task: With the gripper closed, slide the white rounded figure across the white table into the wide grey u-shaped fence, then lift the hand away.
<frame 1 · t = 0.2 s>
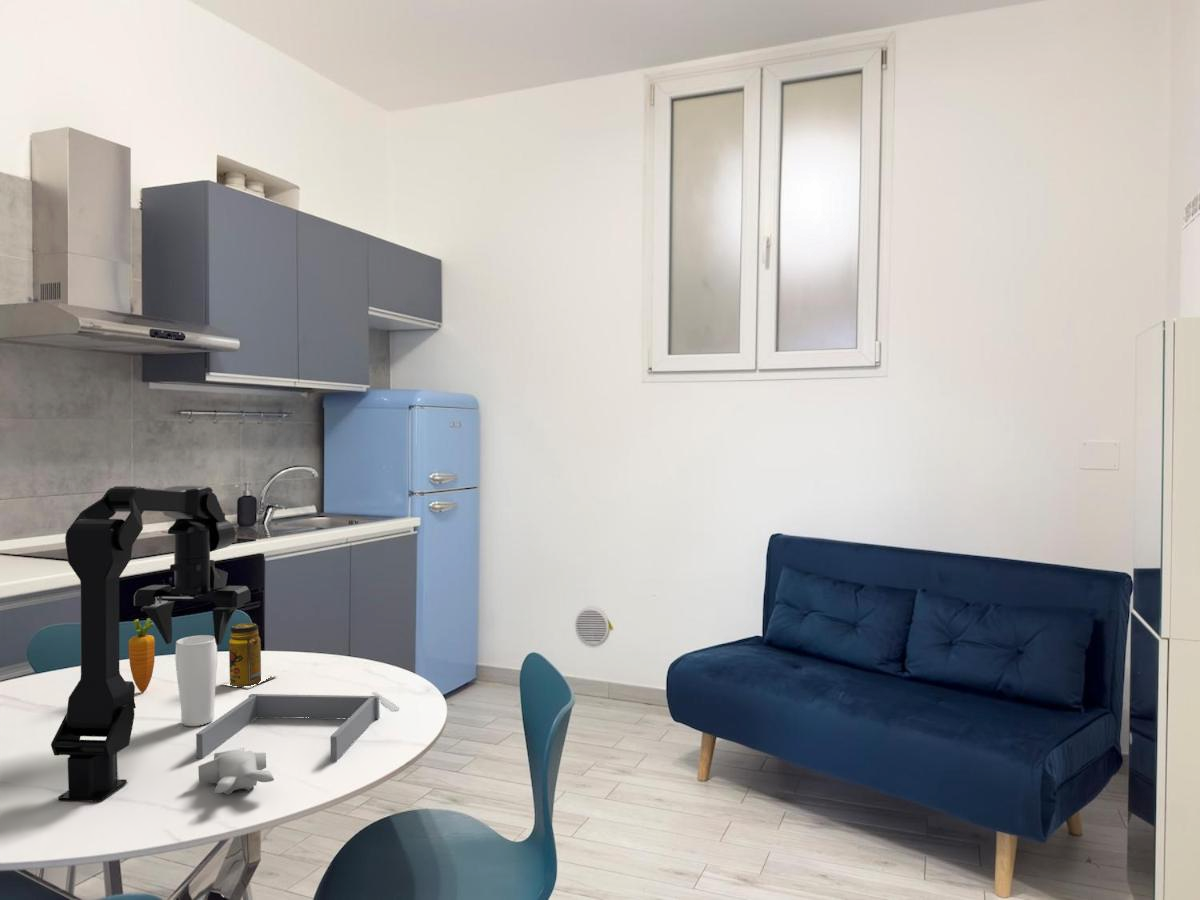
hand: (193, 644, 153), 15 cm above the table, tool pointing down, fingers open, 9 cm apart
grey u-shaped fence: (292, 736, 147), on the table
condiment: (249, 682, 179), on the table
carrot: (142, 693, 172), on the table
drinking glass: (198, 723, 155), on the table
white rounded figure: (236, 789, 127), on the table
butter knife: (371, 694, 171), on the table
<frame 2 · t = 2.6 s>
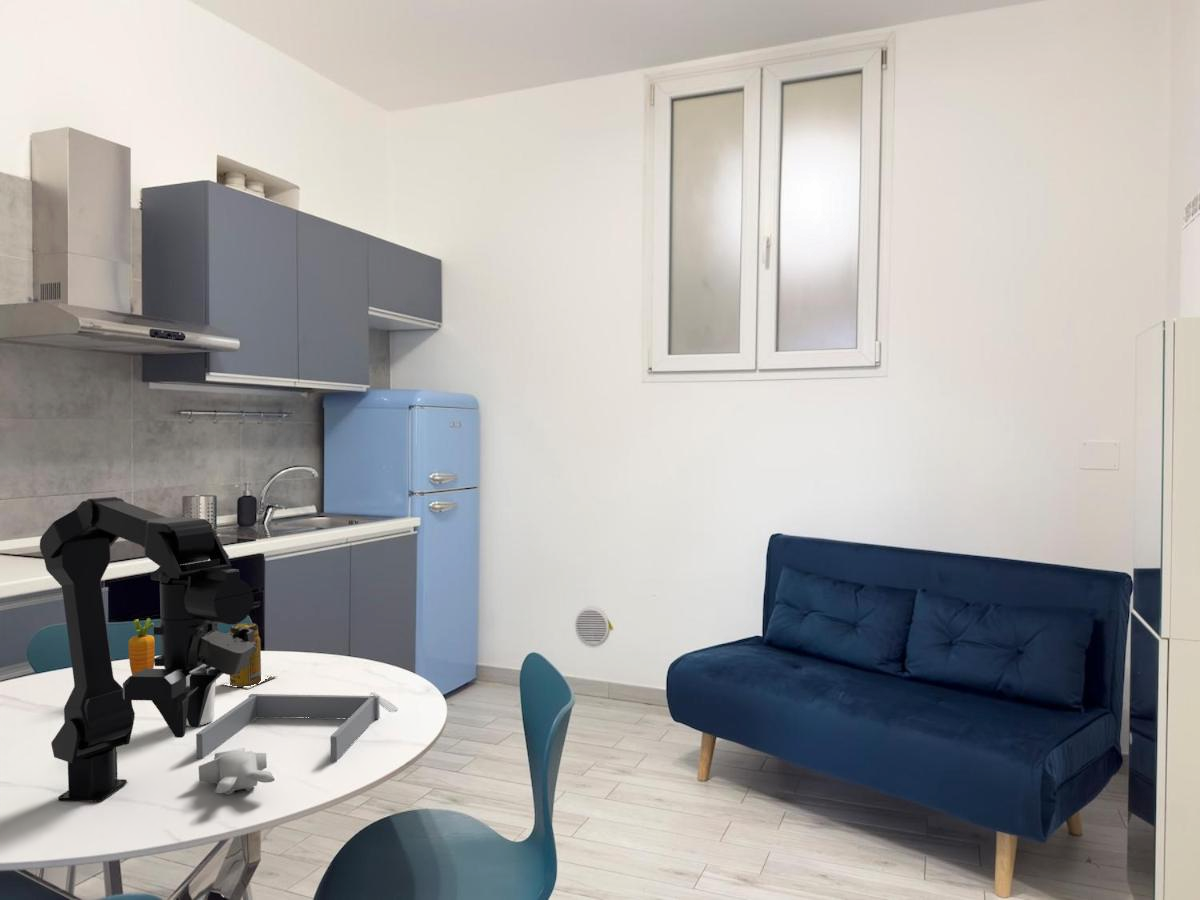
hand: (187, 732, 114), 13 cm above the table, tool pointing down, fingers open, 3 cm apart
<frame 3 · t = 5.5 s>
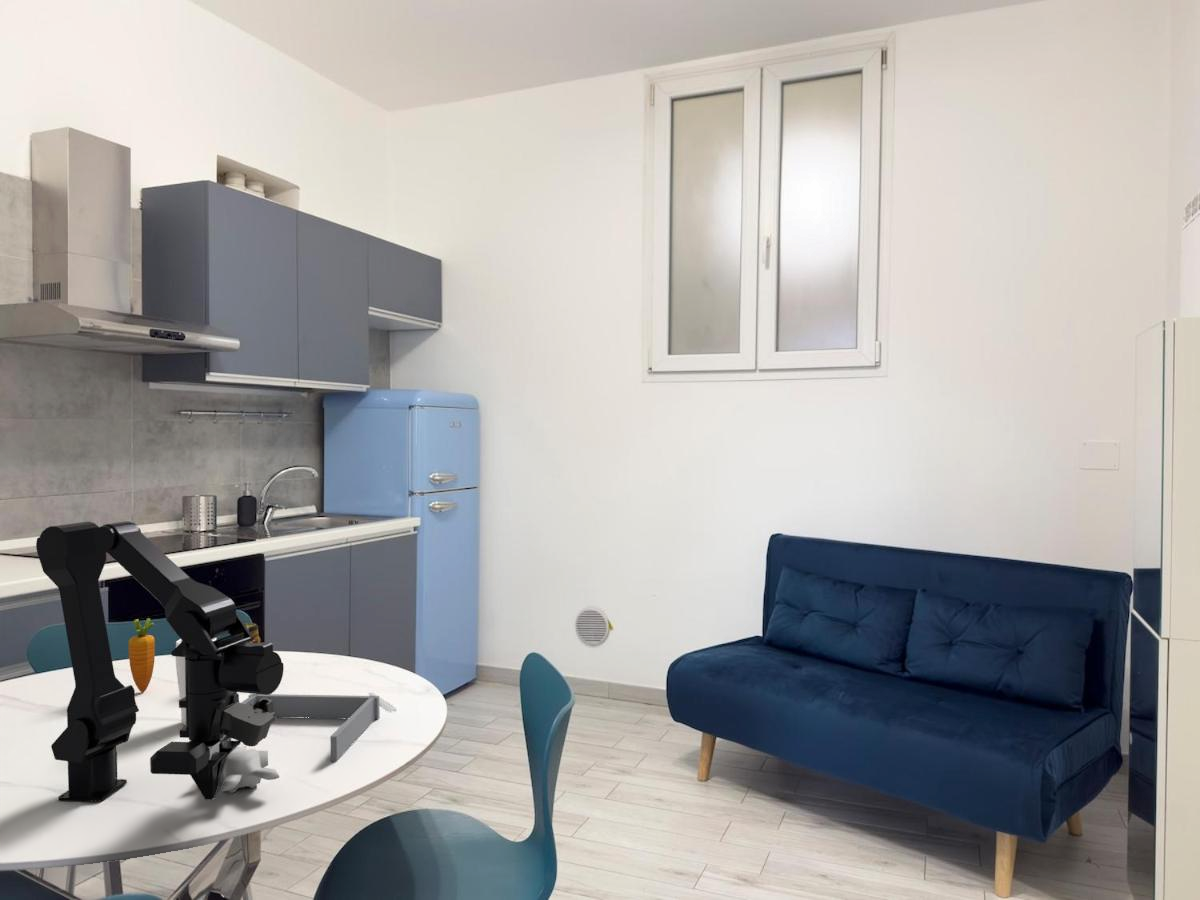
hand: (210, 799, 120), 2 cm above the table, tool pointing down, fingers closed
white rounded figure: (239, 787, 128), on the table, touching gripper
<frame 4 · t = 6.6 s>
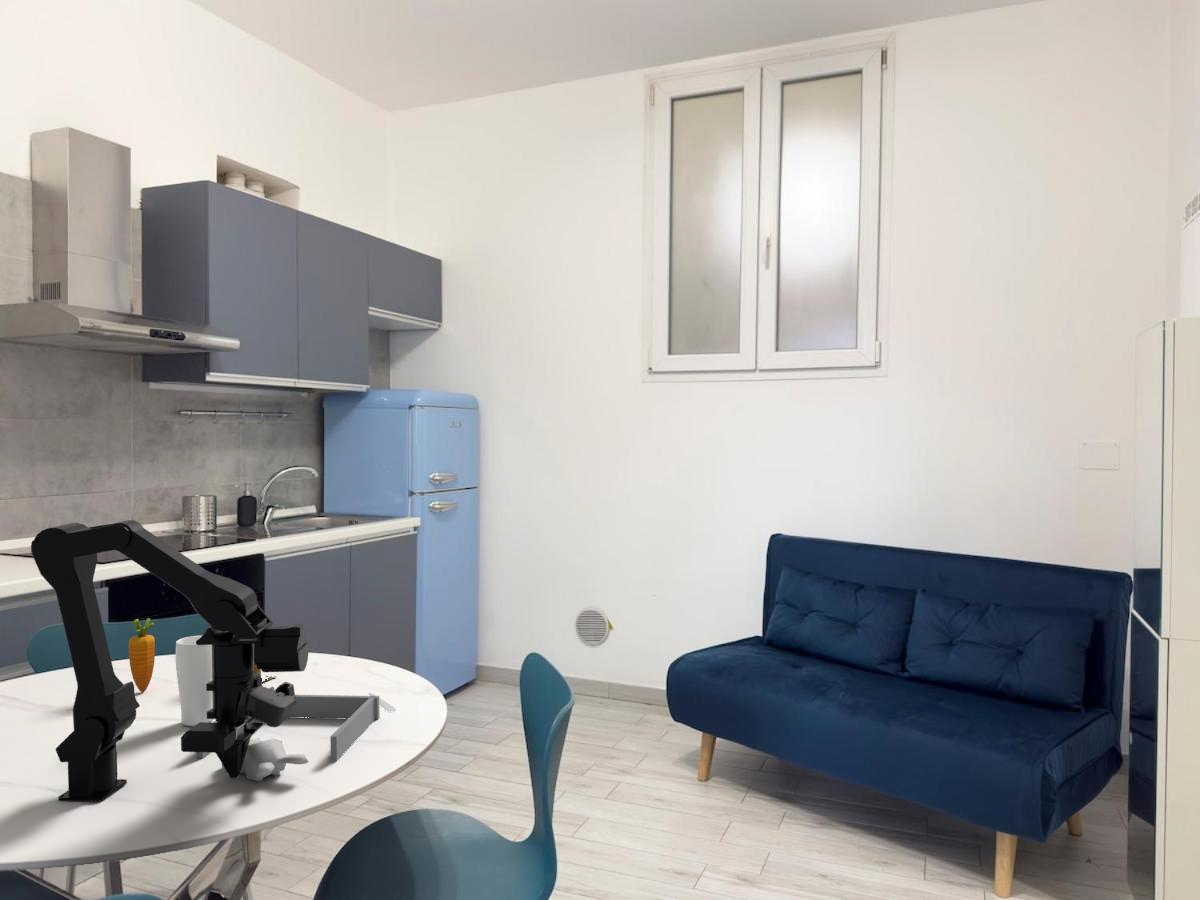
hand: (235, 777, 127), 2 cm above the table, tool pointing down, fingers closed
white rounded figure: (262, 776, 132), on the table, touching gripper
everything else where it was.
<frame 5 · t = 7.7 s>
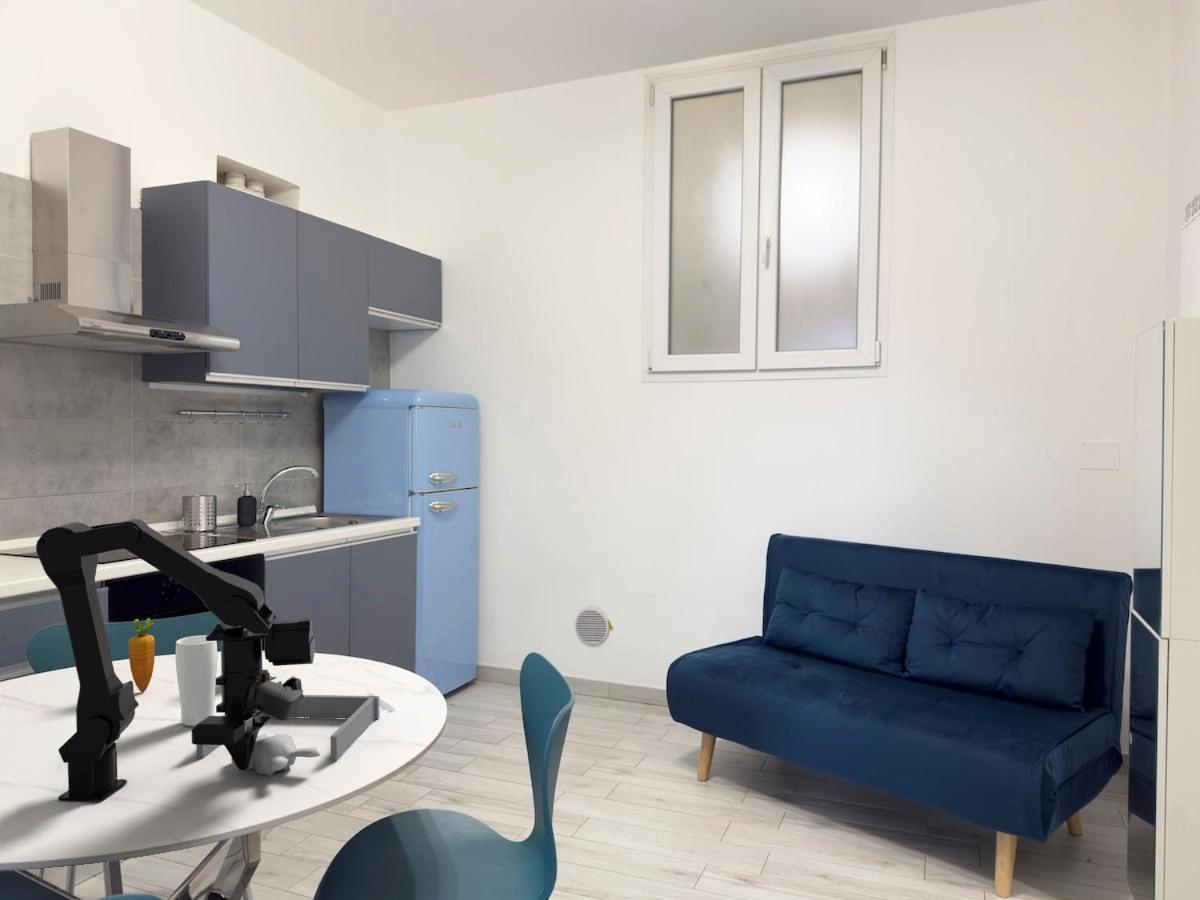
hand: (243, 769, 130), 2 cm above the table, tool pointing down, fingers closed
white rounded figure: (271, 770, 134), on the table, touching gripper
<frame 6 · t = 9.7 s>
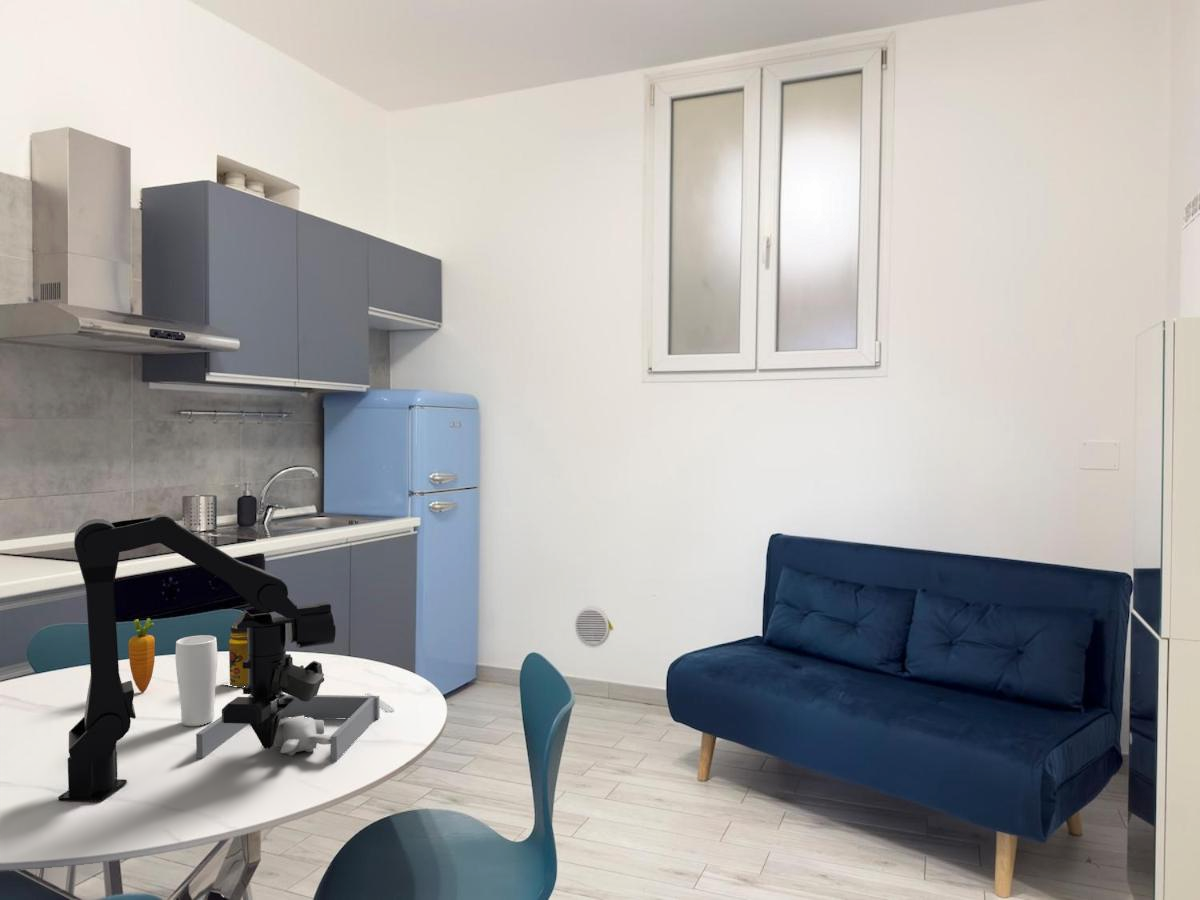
hand: (268, 748, 138), 2 cm above the table, tool pointing down, fingers closed
white rounded figure: (298, 751, 141), on the table, touching gripper
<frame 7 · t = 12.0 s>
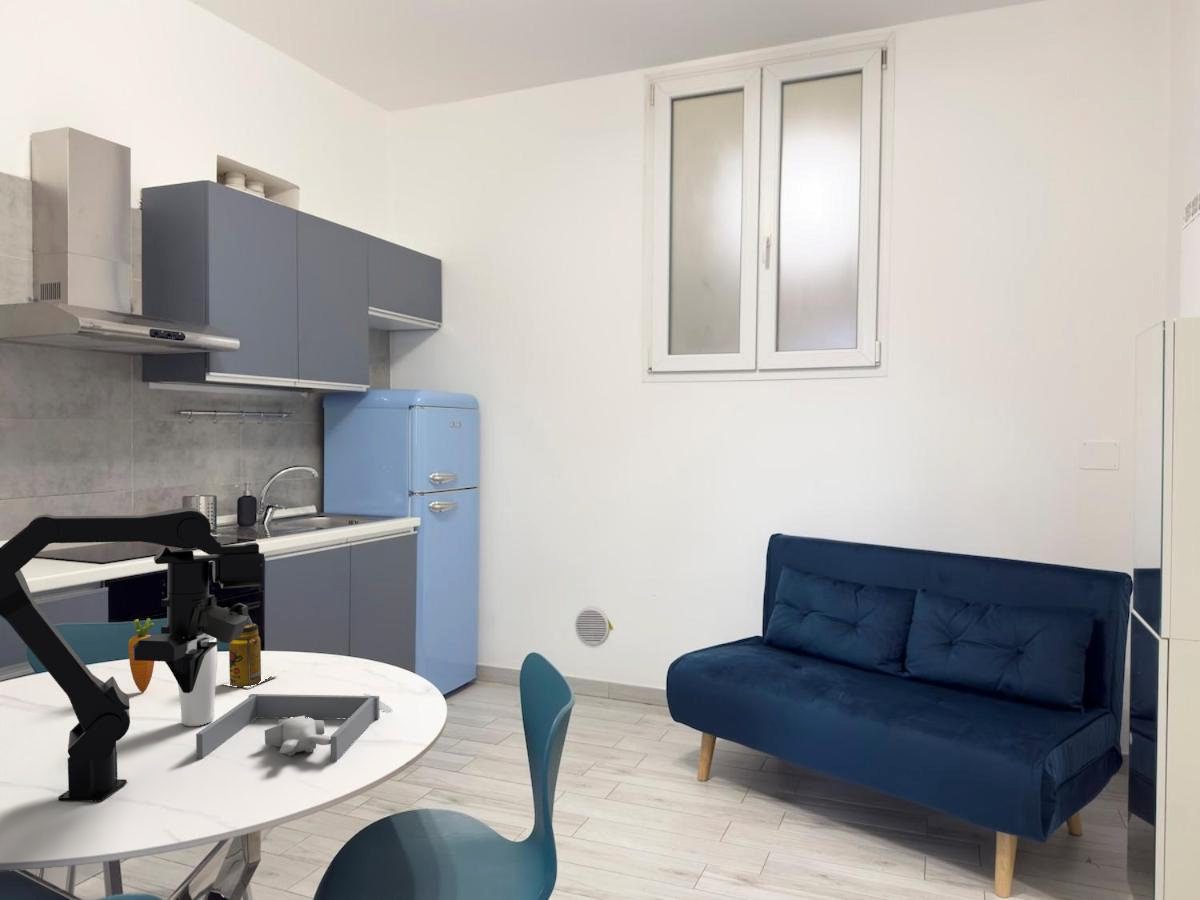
hand: (187, 692, 131), 13 cm above the table, tool pointing down, fingers closed
white rounded figure: (298, 751, 142), on the table
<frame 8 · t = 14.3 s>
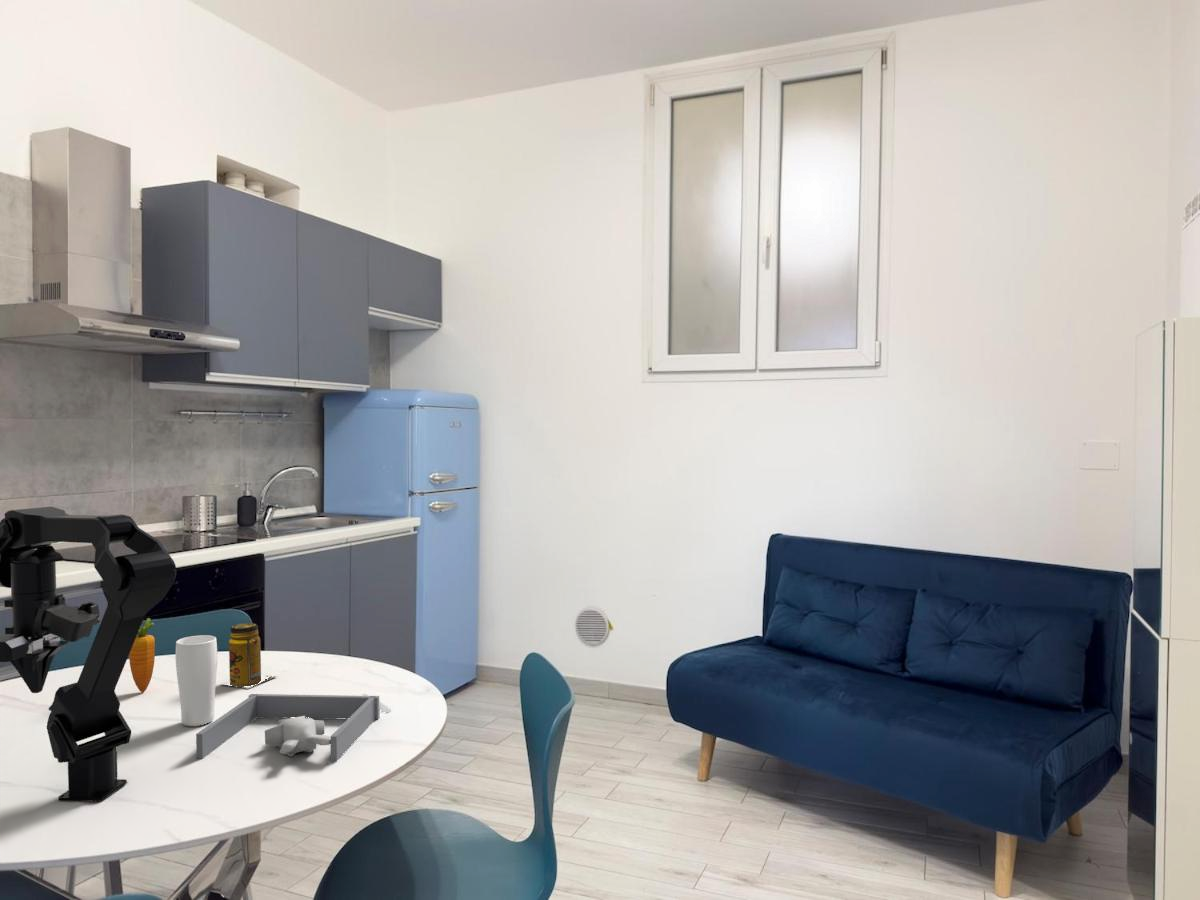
hand: (36, 692, 131), 13 cm above the table, tool pointing down, fingers closed
at the end: white rounded figure inside the target area (6.5 cm from its centre), on the table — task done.
